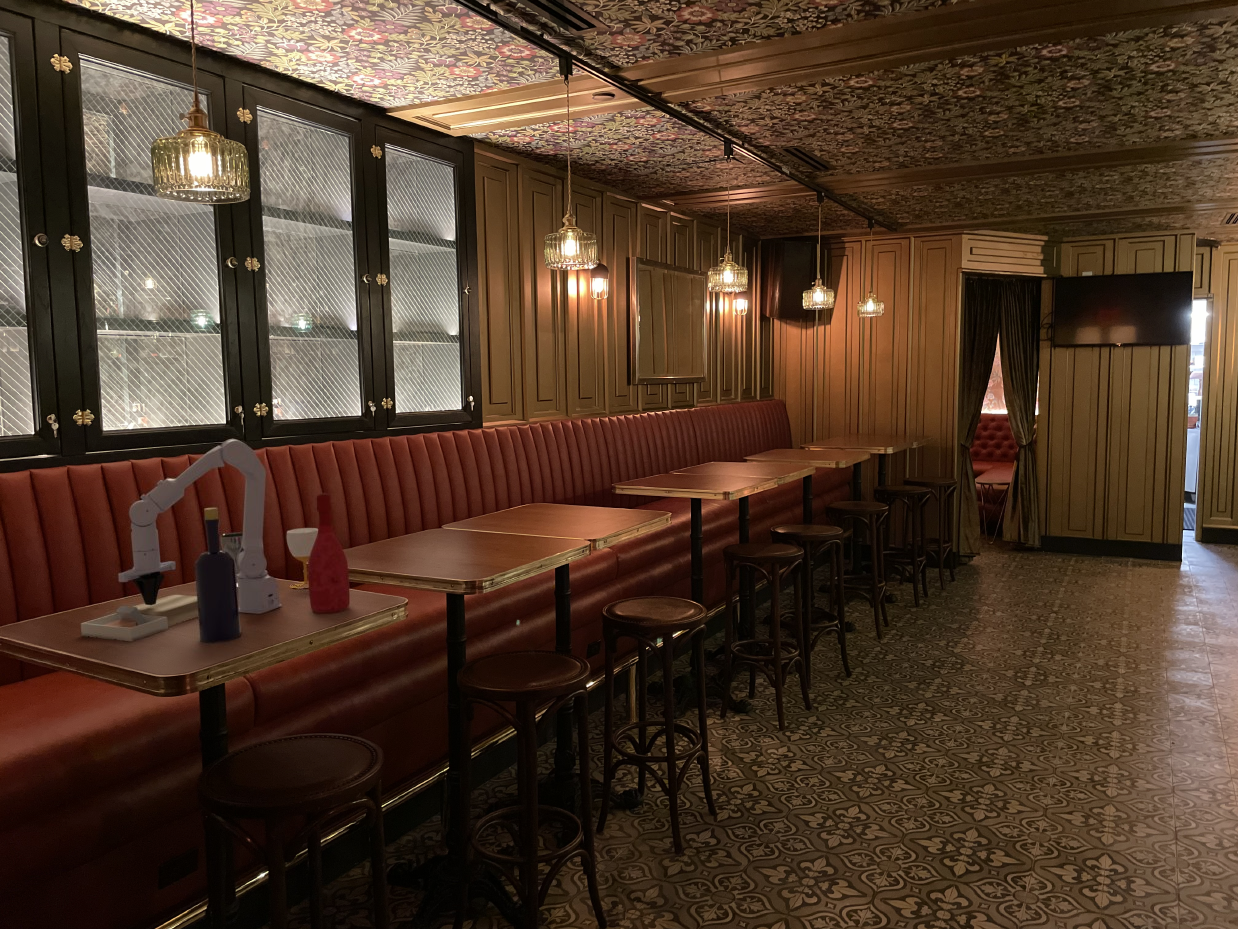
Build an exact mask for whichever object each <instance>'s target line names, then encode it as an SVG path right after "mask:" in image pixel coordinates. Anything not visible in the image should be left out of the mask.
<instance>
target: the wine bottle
mask: <svg viewBox="0 0 1238 929" xmlns="http://www.w3.org/2000/svg"><path fill="white" fill-rule="evenodd" d="M331 505H332V504H331V496H330V494H329V493H327V492H322V493H318V494H317V495H316V512H317V513H318V527H317V529H318V534H317V537H316V540H315V542H314V545H313V547H312V550H311V553H310V557H309V560H308V561H307V562H308V563H307V581H308V585H309V589H308V593H309V594H308V595H309V602H310V603H309V604H310V610H311V611H312V612H314V613H316V614H333V613H338V612H342V611H345V610H346V609H348V608H349V607H350V602H351V600H350V578H349V576H350V575H349V564H348V560H347V557H346V554H345V552H344V549H343V547H342V546H341V543H340V542H339V539H338V538H337V536H336V534H335V532H334V529H333V526H332V521H331V518H332V517H331V512H332V506H331Z"/></svg>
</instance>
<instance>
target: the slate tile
mask: <svg viewBox="0 0 1238 929" xmlns="http://www.w3.org/2000/svg"><path fill="white" fill-rule="evenodd" d="M115 613H117V615H118V616H119V618H120V619H121V620H127V621H136V626H138V625H142V624H145V623H147V622H146V620H145V619H144V617H143V616H142V615H141V613H140V612H139V610H138V609H137V607H133V606H128V605H127V606H126V605H121V606H120V607H119V608H117V609H116V610H115Z"/></svg>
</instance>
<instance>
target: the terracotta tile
mask: <svg viewBox="0 0 1238 929" xmlns="http://www.w3.org/2000/svg"><path fill="white" fill-rule="evenodd" d="M105 625H108V626H117V627H127V628H132V627H135V626H136V621H127V620H118V621H115V622H112V623H108V624H105Z"/></svg>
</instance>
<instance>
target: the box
mask: <svg viewBox="0 0 1238 929" xmlns="http://www.w3.org/2000/svg"><path fill="white" fill-rule="evenodd" d="M142 616H143V617H144V619H145V620H146V622H147V623H145V624H142V625H138V626H135V627H132V628H127V627H117V626H108V625H105V624H108V623H112V622H115V621H118V620H121V619H120V618H119V616H118V615H117V613H116V612H115V613H113V614H108V615H105V616H101V617H99V618H95V619H92V620H88V621H85V622H81V623H80V630H81V636H82V637H88V636H89V637H88V638H96V637H97V639H105V640H106V639H107V640H114V639H117V641H123V640H124V641H126V642H134V641H137V640H141V639H143V638H147V637H149V636H151V635H155V634H158V633H161V632H164V631H168V630H169V626H168V621H167V617H162V616H151V615H142ZM160 631H161V632H160ZM124 641H123V642H124Z"/></svg>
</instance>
